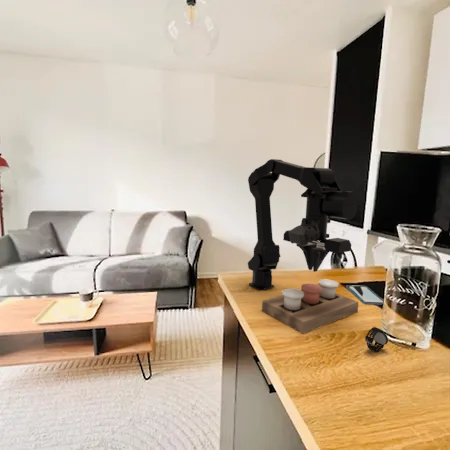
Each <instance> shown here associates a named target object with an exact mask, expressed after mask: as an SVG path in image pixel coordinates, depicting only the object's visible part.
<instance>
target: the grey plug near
mask: <svg viewBox="0 0 450 450" xmlns="http://www.w3.org/2000/svg"><path fill="white" fill-rule="evenodd" d="M281 295H283V296H284V307H285V308H287V309H290V310H298V309H300V308H301V298H303V297H304V292H302V291H301V289H299V288H298V289H297V288H285V289H283V290H282V292H281Z"/></svg>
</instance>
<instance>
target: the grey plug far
mask: <svg viewBox="0 0 450 450" xmlns="http://www.w3.org/2000/svg"><path fill="white" fill-rule="evenodd" d="M339 284H340V283H339V282H338V281H336V280H333V279H327V278H326V279H324V278H321V279H319V280H318V282H317V285H319V286H321V287H322V292H321V293H320V296H322V297H325V298H335V294H337V288H339Z"/></svg>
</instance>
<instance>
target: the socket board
mask: <svg viewBox="0 0 450 450" xmlns="http://www.w3.org/2000/svg"><path fill="white" fill-rule="evenodd" d="M300 290H301V289H300ZM301 291H302V290H301ZM302 292H303V291H302ZM358 310H359V301H358V300H354V299H352V298H349V297H346V296H344V295H341V294H338V293H336V294H335V298H325V297H322V296H320V293H319V303H316V304H310V303H306V302H304V301H303V298H301V308H300V309H298V310H290V309H287V308H285V307H284V296H283V295H282V294H280V295H278V296H273V297H270V298H267V299H263V300H262V302H261V311H262V312H263V313H265V314H268V316H271V317H273V318H274V319H276V320H278V321H280V322H282V323H283V324H285V325H287V326H288V327H290V328H292V329H293V330H295V331H297V332H300V333H301V334H303V335H304V334H306V333H309V332H311V331H313V330H316V329H319V328H321V327H323V326H325V325H328V324H331V323H333V322H336V321H338V320H341V319H343V318H346V317H348V316H351V315H353V314H355V313H358Z"/></svg>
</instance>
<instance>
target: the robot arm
mask: <svg viewBox="0 0 450 450" xmlns="http://www.w3.org/2000/svg"><path fill="white" fill-rule="evenodd" d="M280 175H281V176H283V177H287V178H290V179H293V180H296V181H298V182H299V183H300V185H301V186H303V187H305V189H306V190H304V192H302V194H300V197H301V198H306V207H305V217H302V219H301V222H300V225H297V226H295V227H293V228H292V229H290V230H285V232H284V233H283V241H286V242H288V243H291V244H296V247H299V249H301V251H302V253H303V255H304V258H305V262H306V265H307V268H308V270H309V271H312V270H313V272H317V271H318V270H319V268H320V266H321V265H322V263H323V261H324V260H325V258H326V257H327V256H328V254H329V253H334V254H342V253H347V252H351V251H352V243H351V241H350V240H349V239H346V238H340V237H335V238H330V233H327V232H328V231H327V230H328V224H331V218H334V219H340V220H341V219H342V220H349V221H350V220H352V219H353V218H355V216H356V214H357V212H358V209H359V208H358V203H357V200H356V198H355V197H354V192H353V191H349V190H348V191H347V190H346V191H342V188H341V187H340V185H339V183H338V180H337V179H336V177H335V174H334V170H333V169H331V168H327V167H307V166H302V165H299V164H295V163H292V162H288V161H284V160H282V159H276V158H275V159H274V158H273V159H268V160H267V161H266V162H265V163H264V164H262V165H261V166H258V167H257V168H255V169H253V171H252V172H251V173H250V175H249V176H248V180H247V183H248V187H249V191H250V193H251V195H252V196H253V198H254V203H255V218H256V220H255V221H256V231H257V233H256V234H257V235H256V236H257V242H256V243H255V246H254V248H253V256H252V257H251V258H250V260H249V261H248V262H247V267H248V270H250V271H252V282H250V283H248V285H249V286H251V287H253V288H254V289H257V290H259V291H263V290H267V289H272V288H275V285H274V284H272V280H273V274H272V273H273V272H272V270H276V269H277V267H278V264H279V263H280V258H281V254H280V245H279V244H276V243H275V241H274V239H273V227H272V226H273V225H272V213H271V212H272V211H271V196H272V194H273V191H274V189H275V188H274V187H275V183H276V182H277V181H278V180H279V179H280Z"/></svg>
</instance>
